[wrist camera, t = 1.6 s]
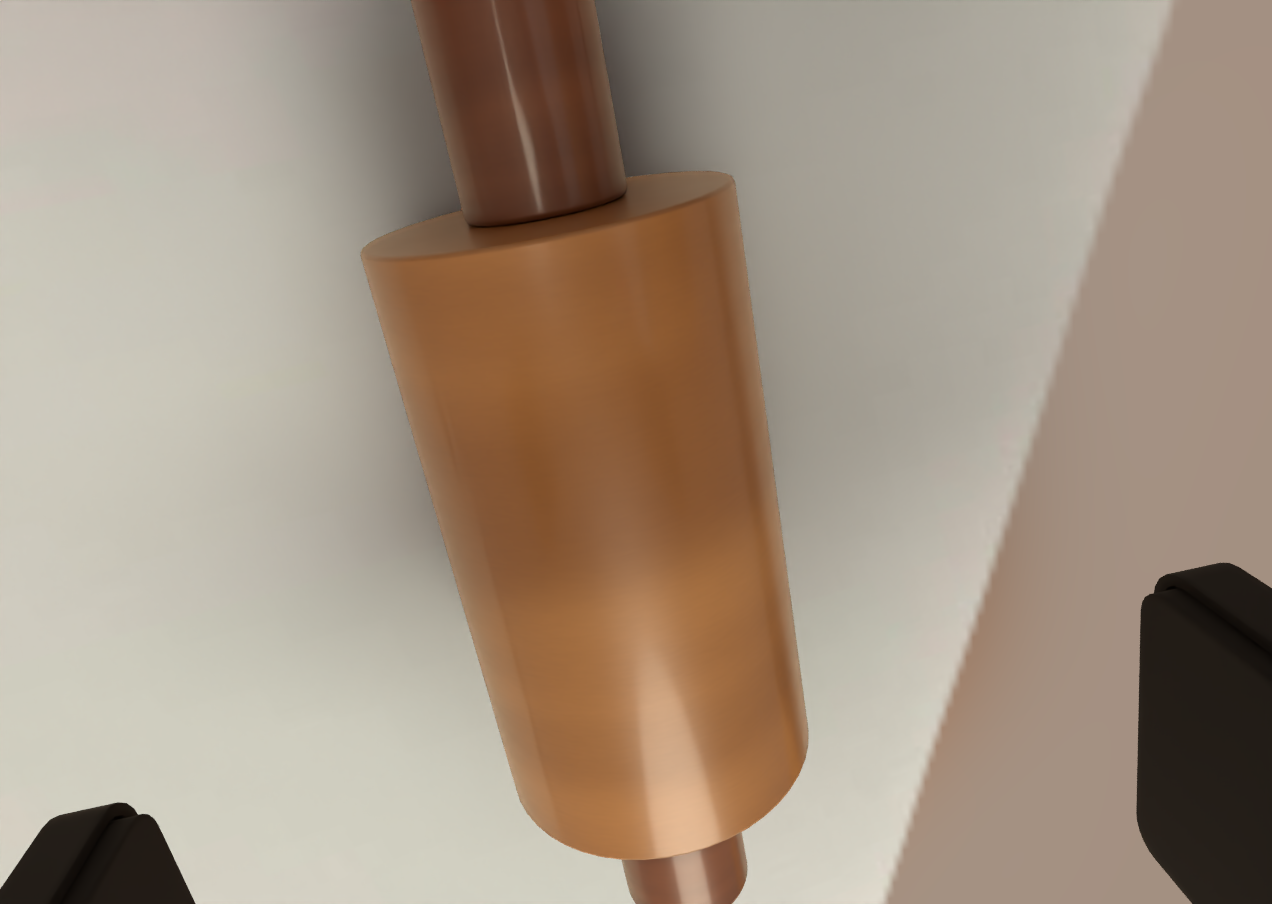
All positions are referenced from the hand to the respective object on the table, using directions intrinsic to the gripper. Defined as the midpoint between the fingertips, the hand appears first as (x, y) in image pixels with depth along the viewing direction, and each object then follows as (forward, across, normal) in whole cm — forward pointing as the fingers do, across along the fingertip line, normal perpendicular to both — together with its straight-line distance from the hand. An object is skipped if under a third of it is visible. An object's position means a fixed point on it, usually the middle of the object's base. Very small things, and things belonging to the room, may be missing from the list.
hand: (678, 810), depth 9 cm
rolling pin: (+6, 0, -1) cm, 6 cm away
